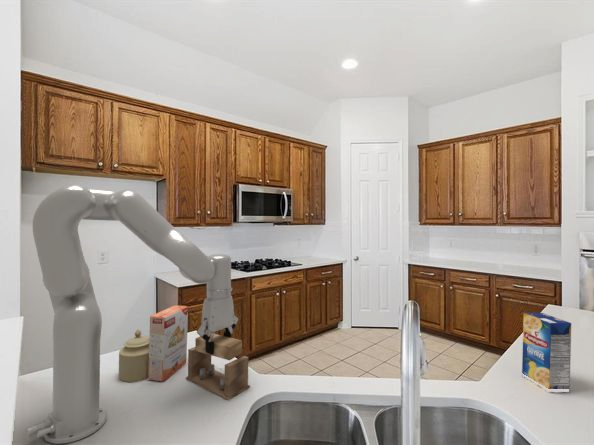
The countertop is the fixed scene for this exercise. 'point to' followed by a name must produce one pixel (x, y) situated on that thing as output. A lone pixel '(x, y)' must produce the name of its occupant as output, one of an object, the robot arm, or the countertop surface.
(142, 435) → the countertop surface
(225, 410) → the countertop surface
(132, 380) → the sugar bowl
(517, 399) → the countertop surface
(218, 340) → the light wood rectangular block
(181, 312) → the cracker box
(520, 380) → the countertop surface
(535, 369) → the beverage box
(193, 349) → the rack
